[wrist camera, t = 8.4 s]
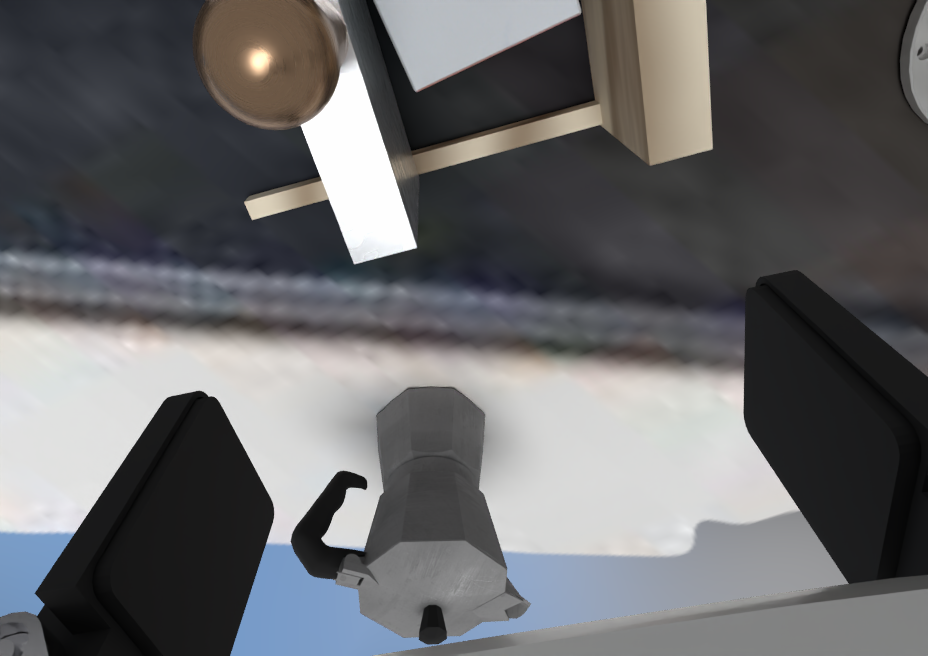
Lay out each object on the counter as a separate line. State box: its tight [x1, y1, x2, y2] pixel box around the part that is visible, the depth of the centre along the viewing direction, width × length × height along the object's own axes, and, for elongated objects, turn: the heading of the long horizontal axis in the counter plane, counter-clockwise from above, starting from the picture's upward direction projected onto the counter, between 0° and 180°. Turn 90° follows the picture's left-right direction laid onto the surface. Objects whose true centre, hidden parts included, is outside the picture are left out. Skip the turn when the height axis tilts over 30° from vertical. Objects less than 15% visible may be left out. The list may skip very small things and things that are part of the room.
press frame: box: [244, 0, 713, 220], centre depth 29 cm, size 26×19×10 cm
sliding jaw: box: [193, 0, 420, 264], centre depth 24 cm, size 4×19×20 cm, turn 14°
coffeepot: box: [291, 387, 530, 644], centre depth 41 cm, size 15×9×18 cm, turn 66°
